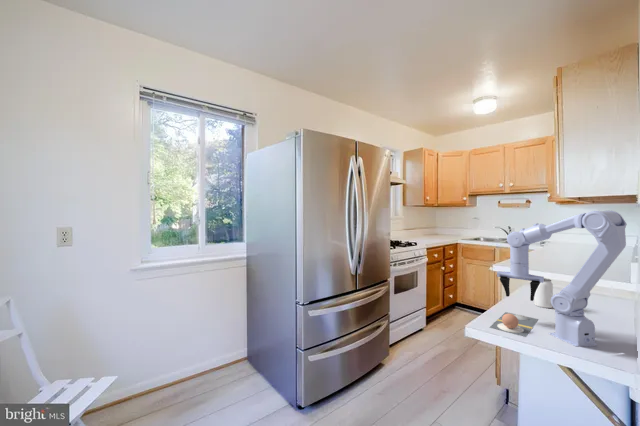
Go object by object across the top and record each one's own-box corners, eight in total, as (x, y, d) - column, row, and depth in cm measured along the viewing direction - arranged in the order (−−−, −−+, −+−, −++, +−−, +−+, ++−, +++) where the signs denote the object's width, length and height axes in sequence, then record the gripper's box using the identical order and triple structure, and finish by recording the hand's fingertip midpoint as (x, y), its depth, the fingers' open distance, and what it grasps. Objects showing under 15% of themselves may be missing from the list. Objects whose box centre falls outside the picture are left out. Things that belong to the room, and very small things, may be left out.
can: (556, 309, 121) (556, 281, 121) (539, 308, 122) (539, 280, 122) (547, 304, 127) (547, 277, 127) (531, 303, 129) (531, 277, 129)
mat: (525, 338, 94) (525, 336, 94) (489, 328, 102) (489, 327, 102) (538, 320, 109) (538, 318, 109) (505, 313, 117) (505, 311, 117)
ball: (522, 330, 99) (522, 316, 99) (509, 331, 98) (509, 316, 98) (511, 324, 104) (511, 311, 104) (498, 325, 103) (498, 311, 103)
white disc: (529, 332, 98) (529, 331, 98) (508, 333, 97) (508, 333, 97) (511, 323, 106) (511, 322, 106) (492, 324, 105) (492, 323, 105)
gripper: (544, 263, 105) (545, 299, 105) (500, 259, 115) (500, 292, 115) (542, 266, 100) (542, 304, 100) (495, 261, 110) (495, 295, 110)
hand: (519, 298), depth 107 cm, fingers open, 7 cm apart
